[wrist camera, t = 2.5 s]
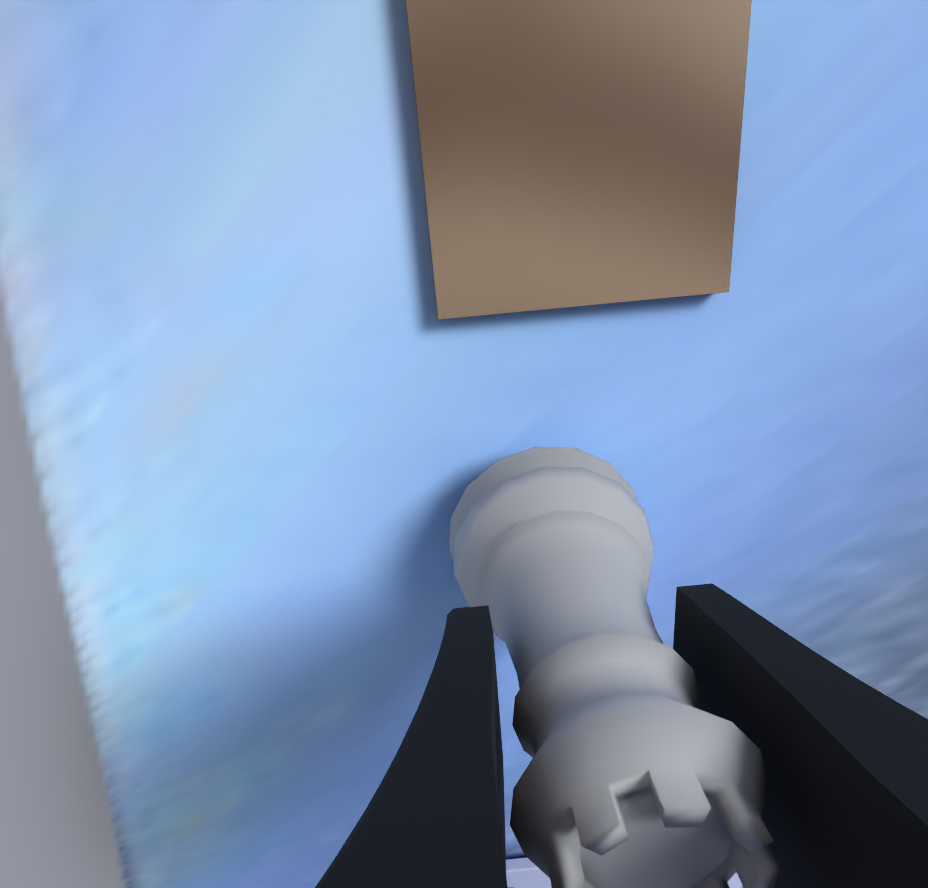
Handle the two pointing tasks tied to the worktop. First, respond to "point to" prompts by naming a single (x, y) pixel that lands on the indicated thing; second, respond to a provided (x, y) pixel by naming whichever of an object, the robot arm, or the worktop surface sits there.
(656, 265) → the walnut tile
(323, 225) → the worktop surface
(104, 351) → the worktop surface
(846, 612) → the worktop surface
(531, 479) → the rook chess piece
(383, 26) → the worktop surface
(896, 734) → the robot arm
